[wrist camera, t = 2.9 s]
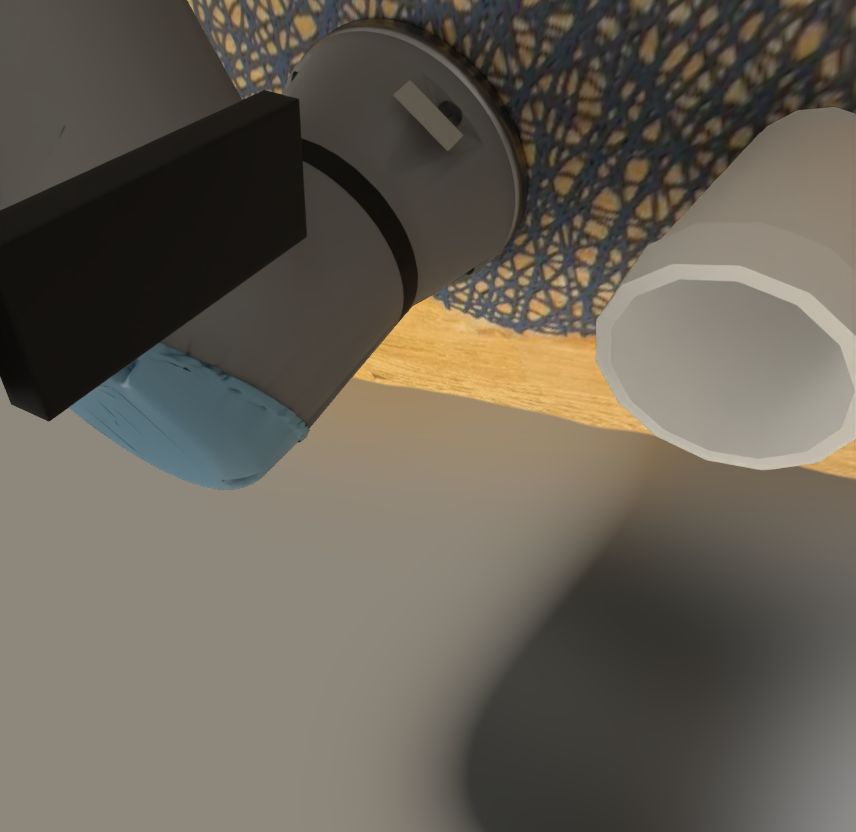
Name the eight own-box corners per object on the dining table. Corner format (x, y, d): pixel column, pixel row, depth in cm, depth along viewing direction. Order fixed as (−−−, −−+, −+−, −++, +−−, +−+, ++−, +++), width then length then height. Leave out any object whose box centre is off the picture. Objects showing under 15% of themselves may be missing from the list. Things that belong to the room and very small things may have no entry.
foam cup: (837, 300, 37) (756, 501, 30) (672, 197, 38) (558, 372, 31) (1008, 149, 29) (949, 380, 22) (794, 23, 30) (675, 209, 23)
